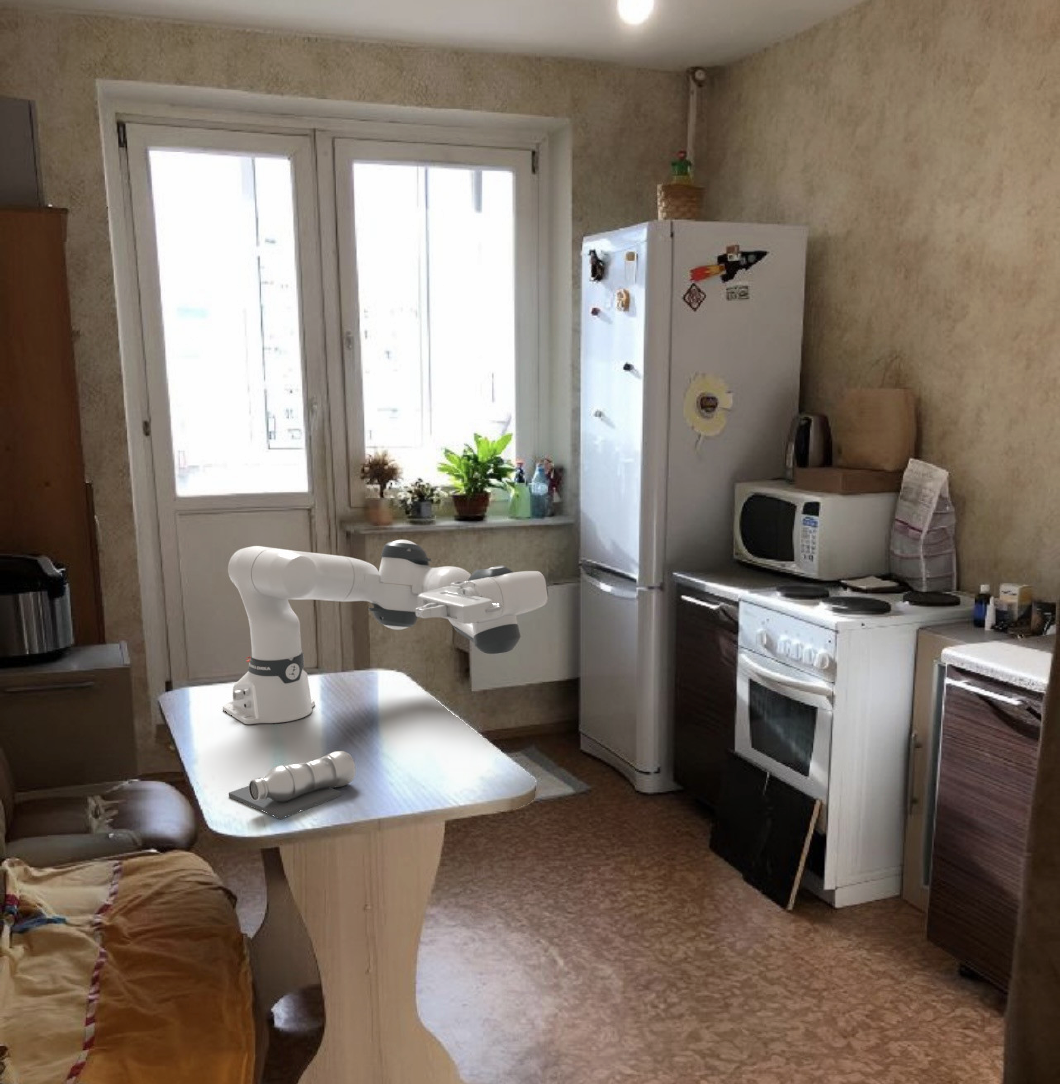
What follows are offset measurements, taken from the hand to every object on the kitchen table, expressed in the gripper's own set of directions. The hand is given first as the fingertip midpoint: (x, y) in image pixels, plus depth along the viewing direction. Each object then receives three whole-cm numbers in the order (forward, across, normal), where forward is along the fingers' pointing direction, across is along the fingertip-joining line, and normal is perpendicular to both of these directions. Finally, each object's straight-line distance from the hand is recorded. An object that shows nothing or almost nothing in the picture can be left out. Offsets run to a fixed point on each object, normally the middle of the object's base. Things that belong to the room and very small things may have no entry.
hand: (418, 613), depth 191 cm
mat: (+30, +1, -29) cm, 42 cm away
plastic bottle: (+17, 0, -26) cm, 31 cm away
